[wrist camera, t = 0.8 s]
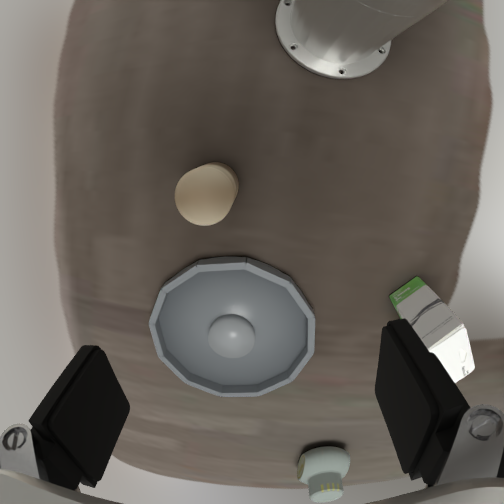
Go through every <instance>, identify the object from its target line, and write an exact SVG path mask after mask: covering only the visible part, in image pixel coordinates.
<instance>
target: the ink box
mask: <svg viewBox="0 0 504 504" xmlns="http://www.w3.org/2000/svg"><path fill="white" fill-rule="evenodd" d="M389 297H390V299H391V301H392V303H393V305H394V307H395V309H396V311H397V313H398V315H399V317H400V319H403V318H405V319H407V320H408V322H409V323H410V325H411V326H412V327H413V329H414V330H415V332H416V333H417V334H418V336H419V337H420V339H421V340H422V342H423V343H424V345H425V346H426V347H427V349H428V350H429V352H432V353H434V354H435V355H436V356H437V357H438V359H439V360H440V362H441V363H442V365H443V366H444V368H445V369H446V371H447V372H448V374H449V375H450V377H451V378H452V380H453V381H454V383H456V382H457V381H459V380H460V379H462V378H463V377H465V376H466V375H468V374H469V373H471V372H472V371H473V370H474V368H475V365H474V361H473V356H472V351H471V347H470V343H469V339H468V335H467V330H466V328H465V327H464V324H463V322H462V321H461V320H460V319H459V318H458V317H457V316H456V315H455V314H454V313H453V311H451V309H450V308H449V307H448V306H447V305H446V304H445V303H444V302H443V301H442V300H441V299H440V298H439V297H438V296H437V295H436V294H435V293H434V292H433V291H432V290H431V289H430V288H429V287H428V286H427V285H426V284H425V283H424V282H423V281H422V280H421V279H420V278H419V277H418V276H417V277H415V278H414V279H412V280H411V281H409V282H408V283H407V284H405V285H404V286H402V287H401V288H399V289H398V290H397V291H395V292H394V293H392V294H391V295H390V296H389Z"/></svg>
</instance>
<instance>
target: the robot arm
mask: <svg viewBox="0 0 504 504" xmlns="http://www.w3.org/2000/svg"><path fill="white" fill-rule="evenodd" d="M447 1H448V0H281V1H280V3H279V5H278V8H277V12H276V18H275V25H276V32H277V35H278V38H279V41H280V43H281V44H282V46H283V48H284V49H285V51H286V52H287V53H288V54H289V55H290V57H291V58H292V59H293V60H295V61H296V62H297V63H298V64H299V65H301V66H302V67H304V68H306V69H307V70H309V71H311V72H313V73H315V74H318V75H320V76H323V77H328V78H332V79H343V80H344V79H354V78H358V77H361V76H364V75H366V74H368V73H370V72H372V71H373V70H375V69H376V68H378V67H379V66H380V65H381V64H382V63H383V62H384V61H385V59H386V57H387V56H388V54H389V50H390V47H391V40H392V39H393V38H394V37H396V36H397V35H399V34H400V33H402V32H403V31H405V30H406V29H407V28H409V27H410V26H412V25H413V24H415V23H416V22H418V21H419V20H421V19H422V18H424V17H425V16H427V15H428V14H430V13H432V12H433V11H434V10H436V9H437V8H439V7H440V6H442V5H443V4H444V3H446V2H447ZM286 4H289V5H290V6H286ZM291 47H295V50H292V49H291ZM378 50H379V51H380V52H381V53H380V52H379V51H378ZM339 70H341V71H342V72H343V74H340V73H339ZM375 394H376V398H377V400H378V403H379V406H380V408H381V411H382V414H383V416H384V419H385V422H386V424H387V427H388V430H389V433H390V436H391V438H392V441H393V444H394V447H395V450H396V453H397V456H398V459H399V461H400V464H401V467H402V470H403V472H404V473H405V474H407V473H409V475H410V478H411V480H414V479H417V478H420V477H422V478H423V481H424V483H426V484H427V485H426V486H425V488H424V489H423V490H419V491H415V492H411V493H407V494H403V495H399V496H396V497H392V498H389V499H384V500H380V501H376V502H371V503H366V504H504V414H503V413H502V411H500V410H499V409H498V408H496V407H494V406H491V405H483V404H482V405H477V406H474V407H472V408H470V406H469V405H468V403H467V401H466V400H465V398H464V397H463V395H462V394H461V392H460V390H459V389H458V387H457V386H456V384H455V383H454V381H453V380H452V378H451V377H450V375H449V374H448V372H447V371H446V369H445V368H444V366H443V365H442V363H441V362H440V360H439V359H438V357H437V356H436V355H435V354H434V353H432V352H429V350H428V349H427V347H426V346H425V345H424V343H423V342H422V340H421V339H420V337H419V336H418V334H417V333H416V332H415V330H414V329H413V327H412V326H411V325H410V323H409V322H408V320H407V319H405V318H403V319H398V320H393V321H389V322H388V323H387V326H385V327H383V328H382V335H381V345H380V354H379V362H378V370H377V377H376V384H375ZM129 411H130V405H129V402H128V400H127V398H126V396H125V394H124V392H123V390H122V388H121V386H120V384H119V382H118V380H117V378H116V376H115V374H114V372H113V369H112V367H111V365H110V363H109V361H108V358H107V356H106V354H105V352H104V351H103V350H101V348H100V347H99V346H93V345H84V346H82V347H81V348H80V350H79V351H78V352H77V354H76V355H75V356H74V358H73V359H72V360H71V362H70V363H69V364H68V366H67V367H66V369H65V370H64V371H63V372H62V374H61V375H60V376H59V378H58V379H57V381H56V382H55V383H54V385H53V386H52V387H51V389H50V390H49V392H48V393H47V395H46V396H45V397H44V399H43V400H42V402H41V403H40V405H39V406H38V407H37V409H36V410H35V412H34V413H33V415H32V416H31V418H30V419H29V422H30V424H31V425H32V426H33V427H32V429H31V430H30V429H29V428H28V426H26V425H24V424H15V425H12V426H10V427H8V428H7V429H6V430H5V431H4V432H3V433H2V435H1V437H0V504H122V503H118V502H113V501H109V500H105V499H101V498H97V497H94V496H90V495H86V494H83V493H81V492H80V489H79V487H78V485H79V483H80V482H81V483H82V484H83V485H87V486H90V487H93V488H95V486H96V484H97V481H100V480H101V478H102V476H103V474H104V471H105V469H106V466H107V464H108V461H109V459H110V456H111V454H112V452H113V449H114V447H115V444H116V442H117V440H118V437H119V435H120V433H121V430H122V428H123V425H124V423H125V421H126V418H127V416H128V414H129Z"/></svg>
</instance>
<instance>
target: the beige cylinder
mask: <svg viewBox="0 0 504 504" xmlns="http://www.w3.org/2000/svg"><path fill="white" fill-rule="evenodd" d="M238 190H239V181H238V177H237V175H236V173H235V172H234V171H233V169H232V168H230V167H229V166H228V165H226V164H223V163H220V162H211V163H208V164H205V165H203V166H200V167H198V168H195V169H193V170H191V171H189V172H187V173H186V174H185V175H184V176H183V177H182V178H181V179H180V180H179V182H178V184H177V186H176V190H175V202H176V206H177V208H178V210H179V212H180V213H181V215H182V216H183V217H184V218H185V219H186V220H188V221H189V222H191V223H194V224H197V225H202V226H206V225H212V224H215V223H217V222H219V221H221V220H222V219H223V218H224V217H225V216H226V215H227V214H228V212H229V210H230V208H231V206H232V204H233V202H234V200H235V198H236V196H237V193H238Z"/></svg>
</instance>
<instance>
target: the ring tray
mask: <svg viewBox="0 0 504 504" xmlns="http://www.w3.org/2000/svg"><path fill="white" fill-rule="evenodd" d="M149 327H150V331H151V334H152V338H153V341H154V344H155V348H156V351H157V354H158V357H159V358H160V359H161V360H162V361H163V362H164V363H165V364H166V365H167V366H168V367H169V368H170V369H171V370H172V371H173V372H174V373H175V374H176V375H177V376H178V377H179V378H180V379H181V380H182V381H183V382H184V383H186V384H188V385H191V386H193V387H196V388H198V389H201V390H203V391H206V392H209V393H211V394H214V395H217V396H221V397H251V396H261V395H263V394H265V393H268V392H270V391H272V390H274V389H277V388H279V387H281V386H283V385H285V384H288V383H290V382H292V380H294V379H295V378H296V376H297V375H298V374H299V372H300V371H301V370H302V368H303V367H304V366H305V365H306V363H307V362H308V361H309V359H310V358H311V357H312V355H313V354H314V342H315V315H314V311H313V309H312V307H311V306H310V305H309V303H308V302H307V300H306V298H305V297H304V295H303V293H302V291H301V290H300V289H299V288H298V286H297V285H296V284H295V283H294V281H293V280H292V279H291V277H289V276H288V275H286V274H284V273H282V272H281V271H279V270H278V269H276V268H274V267H272V266H270V265H268V264H266V263H263V262H260V261H258V260H254V259H251V258H248V257H247V258H246V257H236V256H222V257H214V258H209V259H203V260H198V261H196V262H195V263H193V264H191V265H190V266H188V267H186V268H184V269H183V270H181V271H180V272H179V273H178V274H176V275H175V276H174V277H173V278H171V279H170V280H168V281H167V282H165V284H164V285H163V287H162V288H161V290H160V292H159V295H158V298H157V301H156V303H155V306H154V309H153V312H152V315H151V318H150V320H149Z"/></svg>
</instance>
